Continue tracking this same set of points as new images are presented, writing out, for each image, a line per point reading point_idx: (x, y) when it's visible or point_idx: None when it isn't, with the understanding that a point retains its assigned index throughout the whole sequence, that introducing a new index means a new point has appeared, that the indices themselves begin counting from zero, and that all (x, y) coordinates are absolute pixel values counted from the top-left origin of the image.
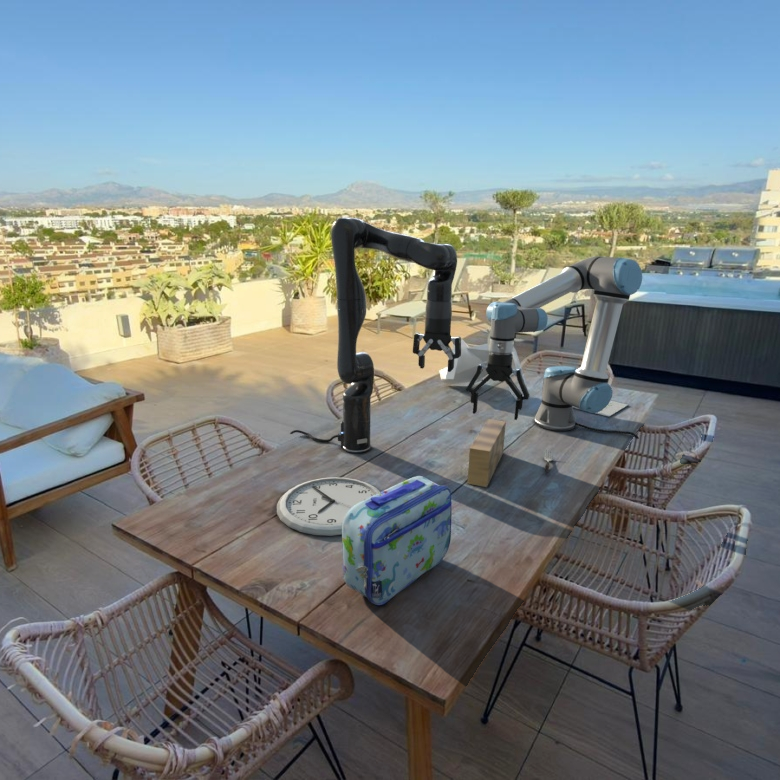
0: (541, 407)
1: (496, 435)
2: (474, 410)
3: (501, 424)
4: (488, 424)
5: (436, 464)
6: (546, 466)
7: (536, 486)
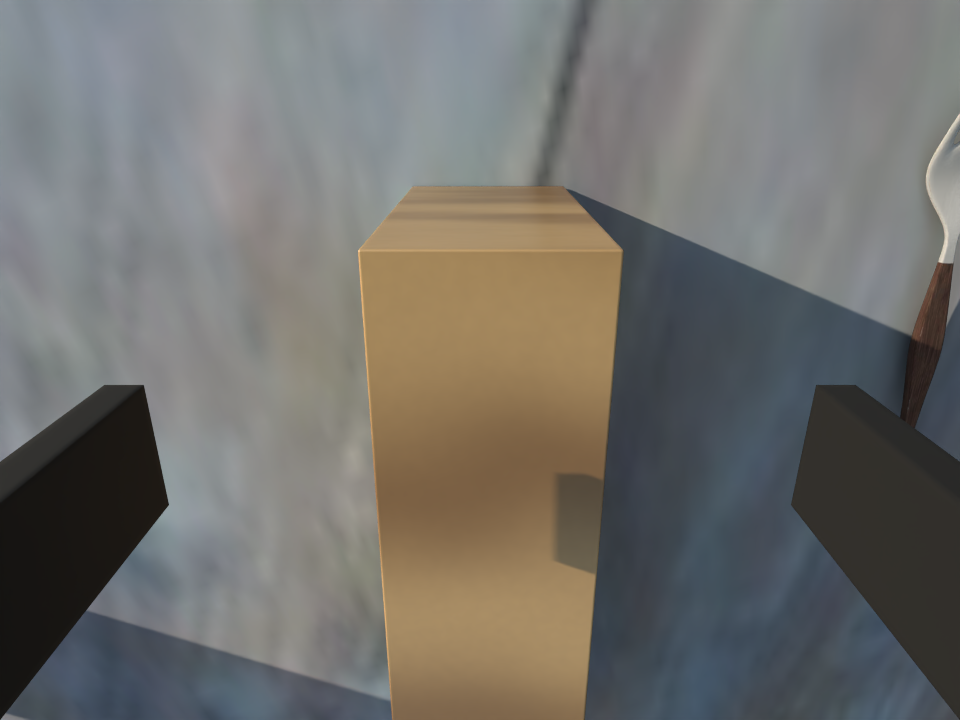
0: None
1: (568, 701)
2: (130, 538)
3: (577, 390)
4: (416, 454)
5: (175, 555)
6: (921, 361)
7: (813, 596)
